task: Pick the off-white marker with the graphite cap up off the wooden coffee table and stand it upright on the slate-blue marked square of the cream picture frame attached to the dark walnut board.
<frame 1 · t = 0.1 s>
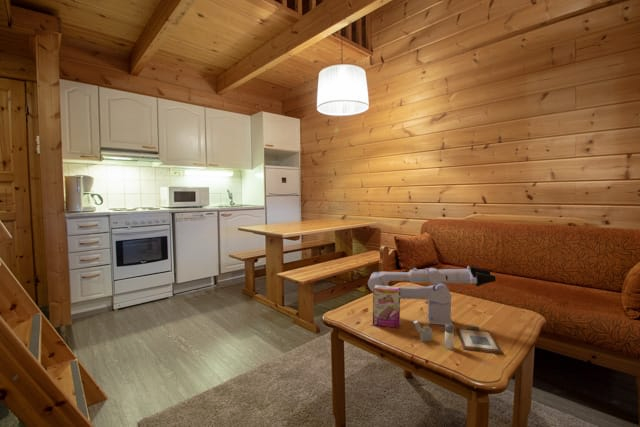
hand: (492, 275, 123), 22 cm above the table, tool horizontal, fingers open, 7 cm apart
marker: (448, 347, 109), on the table
picture frame: (477, 340, 113), on the table
candy bar box: (386, 325, 127), on the table
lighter: (422, 340, 114), on the table
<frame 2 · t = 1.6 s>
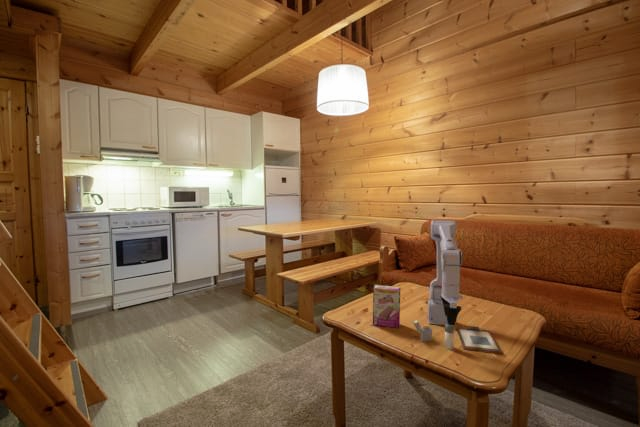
hand: (449, 319, 108), 10 cm above the table, tool pointing down, fingers open, 7 cm apart
nothing on the table moved.
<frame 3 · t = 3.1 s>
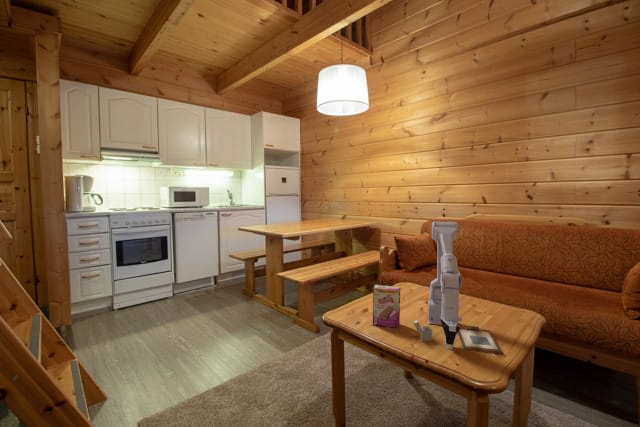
hand: (449, 341, 108), 2 cm above the table, tool pointing down, fingers closed on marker, 3 cm apart
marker: (448, 347, 109), on the table, touching gripper
everything else where it was.
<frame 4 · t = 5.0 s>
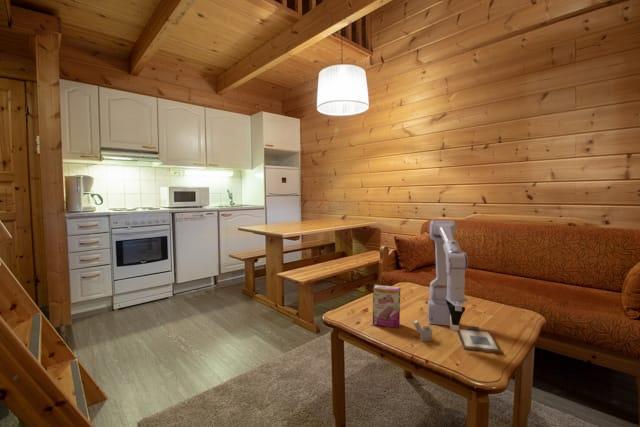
hand: (454, 322, 108), 9 cm above the table, tool pointing down, fingers closed on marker, 3 cm apart
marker: (454, 328, 109), point 7 cm above the table, touching gripper
everything else where it was.
when the fingers open (4 cm above the table, at t = 6.8 s): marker stays where it is, resting on picture frame.
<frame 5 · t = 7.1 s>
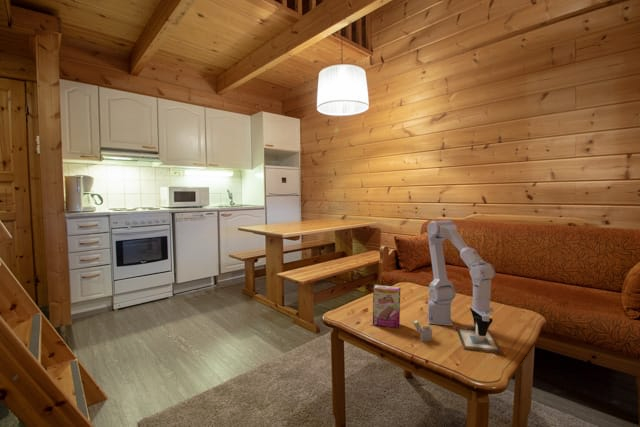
hand: (480, 331, 111), 4 cm above the table, tool pointing down, fingers open, 5 cm apart
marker: (479, 340, 111), point 1 cm above the table, touching picture frame
everything else where it was.
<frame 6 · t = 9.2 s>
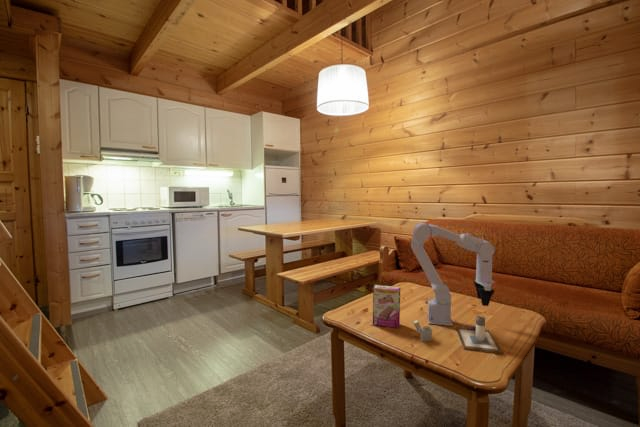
hand: (482, 302, 124), 10 cm above the table, tool pointing down, fingers open, 7 cm apart
nothing on the table moved.
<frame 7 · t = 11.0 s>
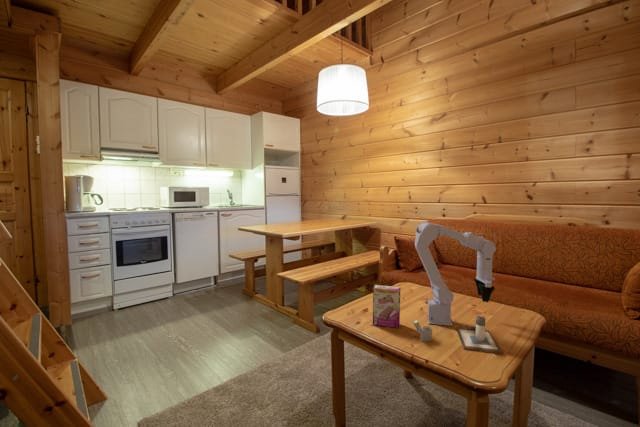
hand: (483, 298, 128), 10 cm above the table, tool pointing down, fingers open, 7 cm apart
nothing on the table moved.
at the end: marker 0.0 cm from the target spot on the picture frame, point 1.2 cm above the picture frame's base; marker tilted 0°; the gripper is holding nothing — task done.
